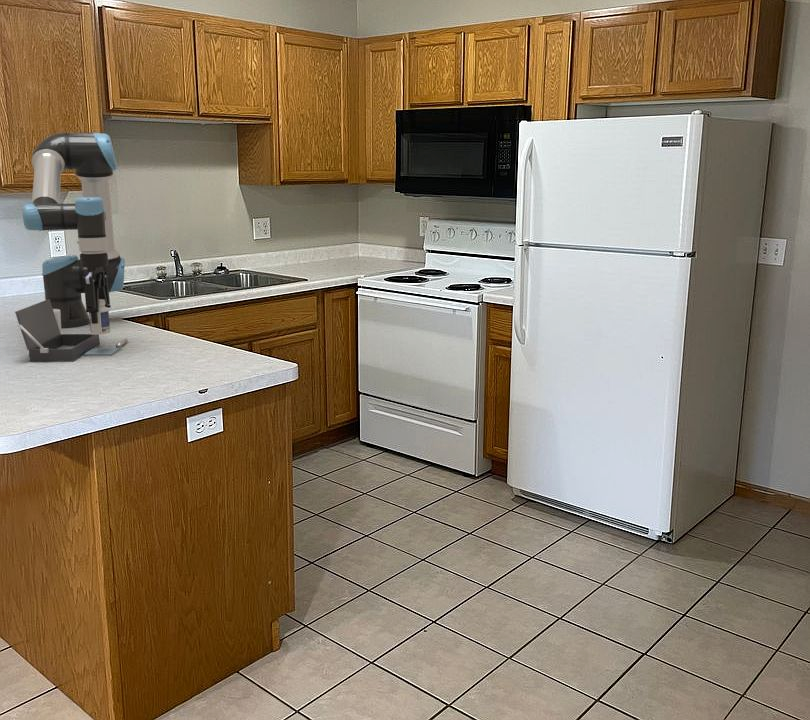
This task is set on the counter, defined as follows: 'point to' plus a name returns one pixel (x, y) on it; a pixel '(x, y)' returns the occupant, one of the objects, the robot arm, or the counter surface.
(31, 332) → the case
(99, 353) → the mat
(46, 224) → the robot arm
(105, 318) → the pill bottle
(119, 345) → the rod
